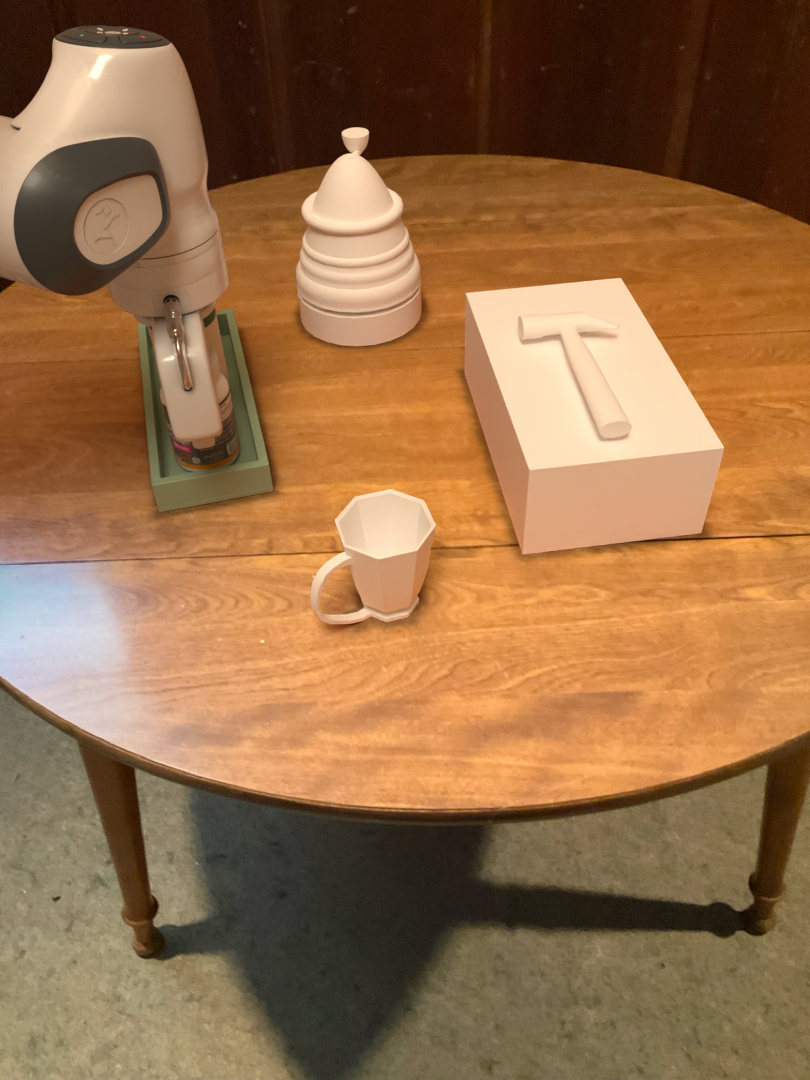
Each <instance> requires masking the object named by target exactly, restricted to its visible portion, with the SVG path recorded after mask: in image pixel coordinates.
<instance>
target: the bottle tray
mask: <svg viewBox="0 0 810 1080" xmlns="http://www.w3.org/2000/svg"><path fill="white" fill-rule="evenodd" d="M216 315H217V320H218V325H219V330H220V335H221V341H222V346H223V351H224V356H225V361H226V366H227V371H228V376H229V381H230V387H231V392H232V404H233V410H234V415H235V420H236V425H237V431H238V436H239V442H240V452H239V455H238V457H237V458H236V460H235V461H234V462H233V463H232V464H231V465H229V466H225V467H219V468H214V469H208V470H203V471H197V472H190V471H187V470H185V469H184V468H182V467H181V466H180V465H179V464H178V462H177V461H176V458H175V455H174V451H173V447H172V443H171V439H170V435H169V431H168V427H167V423H166V419H165V415H164V411H163V407H162V403H161V399H160V389H161V383H160V379H159V375H158V370H157V365H156V359H155V353H154V349H153V345H152V341H151V337H150V333H149V329H148V326H147V325H144V324H142V323H140V322H137V323H136V326H137V328H136V329H137V338H138V348H139V349H138V350H139V361H140V372H141V382H142V383H141V385H142V394H143V395H142V396H143V403H144V404H143V406H144V417H145V428H146V441H147V451H148V452H147V453H148V464H149V475H150V486H151V489H152V492H153V496H154V499H155V502H156V506H157V510H158V512H159V513H165V512H170V511H175V510H181V509H186V508H191V507H197V506H202V505H208V504H212V503H218V502H224V501H229V500H235V499H241V498H246V497H250V496H256V495H261V494H266V493H267V494H268V493H271V492H272V493H273V492H274V485H273V484H274V483H273V478H272V473H271V472H272V471H271V466H270V462H269V457H268V453H267V449H266V444H265V440H264V436H263V431H262V427H261V424H260V418H259V414H258V410H257V406H256V402H255V398H254V393H253V389H252V384H251V381H250V375H249V371H248V367H247V363H246V358H245V355H244V350H243V346H242V342H241V338H240V333H239V328H238V325H237V320H236V316H235V312H234V308H226V309H219V310H216Z"/></svg>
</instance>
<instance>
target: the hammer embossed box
mask: <svg viewBox="0 0 810 1080" xmlns="http://www.w3.org/2000/svg"><path fill="white" fill-rule="evenodd" d="M464 305H465V307H464V309H465V312H464V318H465V319H464V359H463V361H464V363H463V364H464V365H463V366H464V367H463V372H464V377H465V380H466V383H467V386H468V389H469V393H470V396H471V399H472V401H473V404H474V408H475V410H476V414H477V417H478V420H479V424H480V427H481V429H482V430H481V431H482V433H483V437H484V439H485V442H486V446H487V449H488V452H489V454H490V459H491V462H492V464H493V467H494V471H495V474H496V478H497V479H498V483H499V486H500V489H501V493H502V496H503V498H504V502H505V505H506V508H507V511H508V514H509V518H510V521H511V524H512V527H513V530H514V533H515V536H516V540H517V542H518V546H519V550H520V553H521V555H532V554H539V553H541V554H542V553H547V552H555V551H564V550H573V549H583V548H589V547H599V546H605V545H614V544H615V545H616V544H622V543H630V542H640V541H647V540H657V539H665V538H673V537H681V536H688V535H690V536H691V535H697V534H698V535H699V534H702V533H703V528H704V526H705V525H704V524H705V522H706V517H707V514H708V510H709V506H710V503H711V499H712V495H713V492H714V489H715V485H716V481H717V478H718V473H719V471H720V466H721V463H722V459H723V456H724V451H725V447H724V445H723V443H722V441H721V440H720V438H719V436H718V435H717V433H716V431H715V429H714V428H713V427H712V425H711V424H710V422H709V420H708V418H707V417H706V415H705V413H704V412H703V410H702V408H701V407H700V405H699V403H698V402H697V400H696V399H695V397H694V396H693V394H692V392H691V390H690V389H689V387H688V386H687V384H686V382H685V380H684V379H683V377H682V376H681V374H680V372H679V371H678V369H677V367H676V365H675V364H674V363H673V361H672V359H671V358H670V355H668V353H667V351H666V349H665V348H664V346H663V344H662V343H661V341H660V340H659V338H658V336H657V334H656V333H655V331H654V330H653V328H652V326H651V325H650V323H649V321H648V320H647V318H646V317H645V315H644V314H643V311H642V310H641V308H640V307H639V305H638V303H637V301H635V298H634V297H633V295H632V293H631V292H630V291H629V289H628V287H627V285H626V284H625V282H624V281H623V278H622V277H616V278H605V279H595V280H586V281H585V280H584V281H575V282H563V283H555V284H543V285H533V286H524V287H522V286H521V287H513V288H503V289H502V288H501V289H492V290H481V291H471V292H465V304H464Z"/></svg>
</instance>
